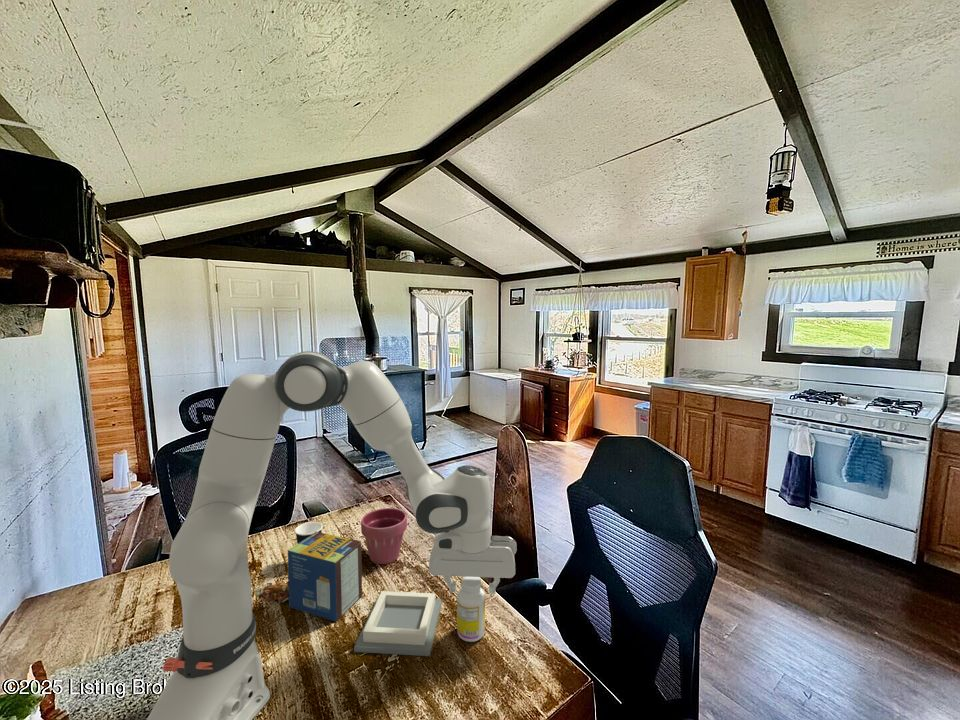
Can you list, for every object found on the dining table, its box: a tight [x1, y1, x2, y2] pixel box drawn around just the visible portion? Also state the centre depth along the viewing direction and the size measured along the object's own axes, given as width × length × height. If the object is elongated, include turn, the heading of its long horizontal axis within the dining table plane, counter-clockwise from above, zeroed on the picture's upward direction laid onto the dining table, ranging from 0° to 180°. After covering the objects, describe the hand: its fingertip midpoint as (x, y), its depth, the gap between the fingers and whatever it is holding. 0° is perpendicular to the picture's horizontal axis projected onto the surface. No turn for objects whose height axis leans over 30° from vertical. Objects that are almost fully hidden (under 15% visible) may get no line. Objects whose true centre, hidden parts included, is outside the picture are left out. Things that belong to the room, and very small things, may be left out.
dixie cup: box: [294, 521, 324, 544], centre depth 122 cm, size 8×8×11 cm
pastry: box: [254, 580, 289, 604], centre depth 107 cm, size 7×12×4 cm, turn 80°
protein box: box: [287, 532, 363, 622], centre depth 104 cm, size 10×15×16 cm
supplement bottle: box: [456, 576, 486, 643], centre depth 94 cm, size 7×7×13 cm
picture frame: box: [353, 590, 443, 657], centre depth 96 cm, size 17×17×4 cm
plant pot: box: [360, 507, 408, 565], centre depth 125 cm, size 14×14×13 cm
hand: (472, 591), depth 94 cm, fingers open, 8 cm apart
